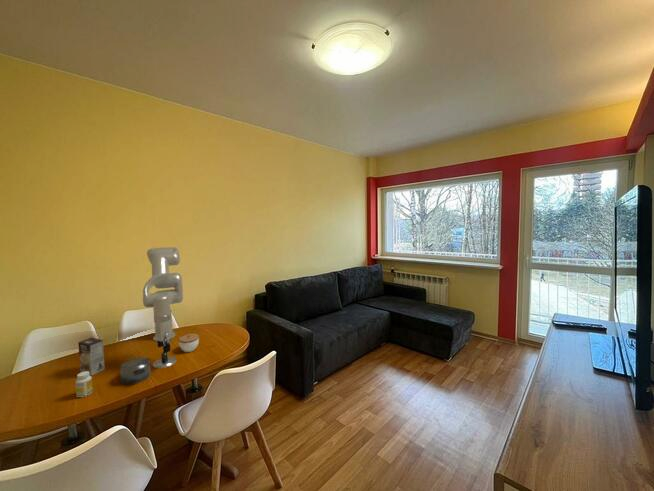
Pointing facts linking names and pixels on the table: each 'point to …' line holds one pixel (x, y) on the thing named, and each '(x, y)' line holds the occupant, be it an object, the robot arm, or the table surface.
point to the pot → (135, 370)
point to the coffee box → (91, 355)
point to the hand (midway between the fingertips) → (164, 349)
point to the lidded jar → (189, 342)
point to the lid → (164, 361)
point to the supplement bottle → (83, 384)
